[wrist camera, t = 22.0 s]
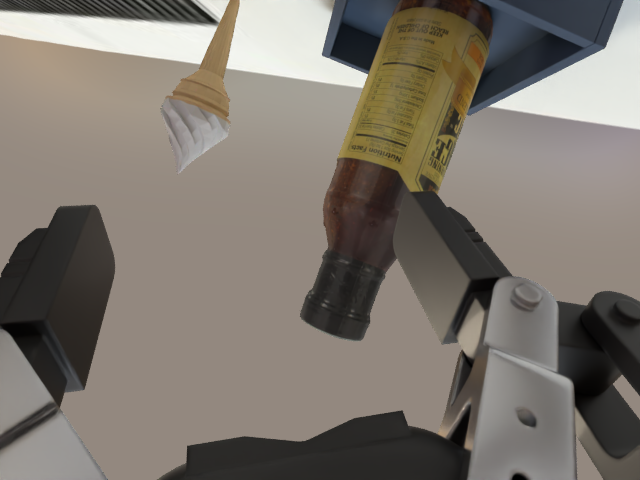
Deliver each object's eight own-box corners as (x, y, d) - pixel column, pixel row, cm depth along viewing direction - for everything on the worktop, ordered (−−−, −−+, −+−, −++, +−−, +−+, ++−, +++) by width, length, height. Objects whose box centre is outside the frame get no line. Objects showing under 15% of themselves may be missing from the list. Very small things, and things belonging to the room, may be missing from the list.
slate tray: (335, 15, 29) (321, 55, 30) (377, -140, 16) (352, -66, 16) (483, 77, 31) (469, 115, 31) (631, -19, 18) (606, 48, 18)
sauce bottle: (479, 53, 27) (377, 332, 27) (390, 24, 27) (291, 300, 28) (522, -5, 20) (385, 363, 21) (403, -42, 20) (273, 321, 21)
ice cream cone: (195, -40, 29) (129, 158, 30) (268, -10, 29) (202, 184, 30) (211, 1, 34) (155, 166, 35) (272, 26, 35) (216, 188, 36)
